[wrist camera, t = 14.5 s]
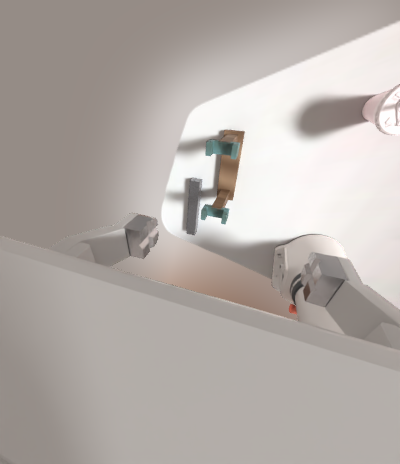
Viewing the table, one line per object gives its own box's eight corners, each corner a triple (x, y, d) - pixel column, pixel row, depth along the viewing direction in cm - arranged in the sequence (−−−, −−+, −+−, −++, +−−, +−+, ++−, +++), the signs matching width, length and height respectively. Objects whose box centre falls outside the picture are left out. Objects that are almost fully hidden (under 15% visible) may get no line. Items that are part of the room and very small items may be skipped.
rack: (235, 198, 48) (224, 226, 37) (216, 195, 49) (200, 221, 38) (246, 131, 40) (238, 141, 28) (223, 129, 41) (206, 138, 29)
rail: (197, 230, 57) (194, 235, 55) (189, 228, 58) (186, 233, 56) (202, 179, 48) (199, 182, 46) (193, 177, 49) (190, 180, 47)
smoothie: (410, 83, 30) (496, 70, 19) (387, 130, 33) (447, 142, 22) (363, 83, 31) (416, 71, 20) (345, 128, 35) (382, 138, 24)
